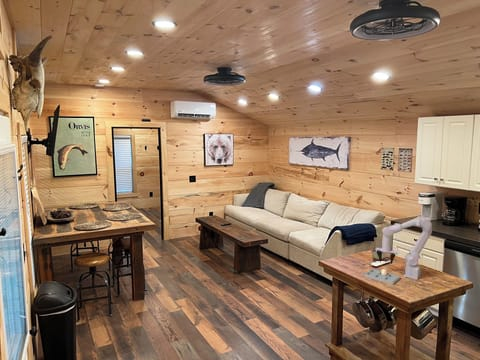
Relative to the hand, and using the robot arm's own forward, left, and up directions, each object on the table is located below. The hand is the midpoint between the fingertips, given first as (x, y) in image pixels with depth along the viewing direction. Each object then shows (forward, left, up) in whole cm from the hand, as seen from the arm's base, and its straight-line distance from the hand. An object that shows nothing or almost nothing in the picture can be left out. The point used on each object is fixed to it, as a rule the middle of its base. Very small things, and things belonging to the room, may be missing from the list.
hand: (385, 262), depth 255 cm
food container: (+16, -25, -10) cm, 31 cm away
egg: (0, +4, -9) cm, 10 cm away
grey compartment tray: (0, +7, -9) cm, 12 cm away
